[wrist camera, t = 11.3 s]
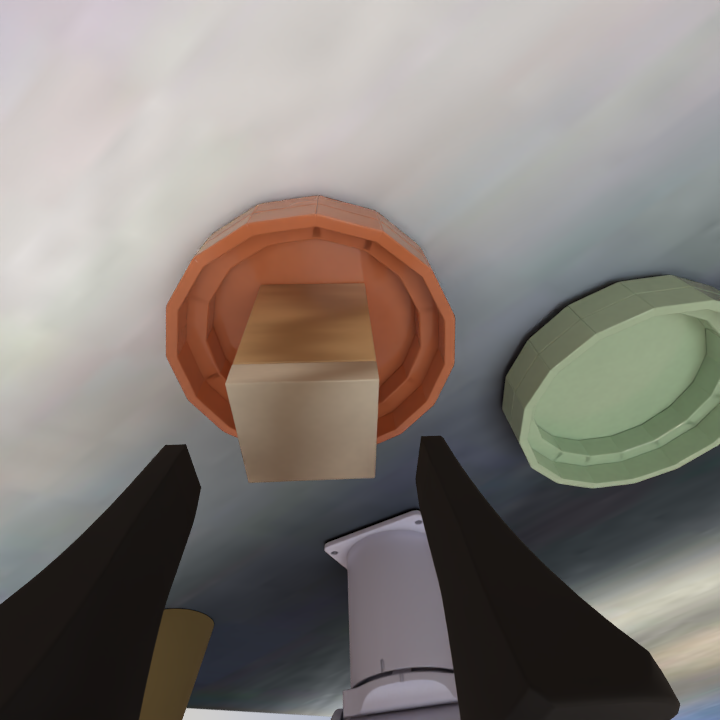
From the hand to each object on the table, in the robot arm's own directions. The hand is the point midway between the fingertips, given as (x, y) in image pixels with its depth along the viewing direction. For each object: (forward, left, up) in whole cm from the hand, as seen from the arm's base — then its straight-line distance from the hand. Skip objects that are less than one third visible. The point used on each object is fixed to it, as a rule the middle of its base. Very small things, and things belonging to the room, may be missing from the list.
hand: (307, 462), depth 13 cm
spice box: (0, 0, -8) cm, 8 cm away
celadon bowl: (-11, -12, -8) cm, 18 cm away
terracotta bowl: (0, 0, -8) cm, 8 cm away
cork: (-20, +28, -9) cm, 35 cm away
